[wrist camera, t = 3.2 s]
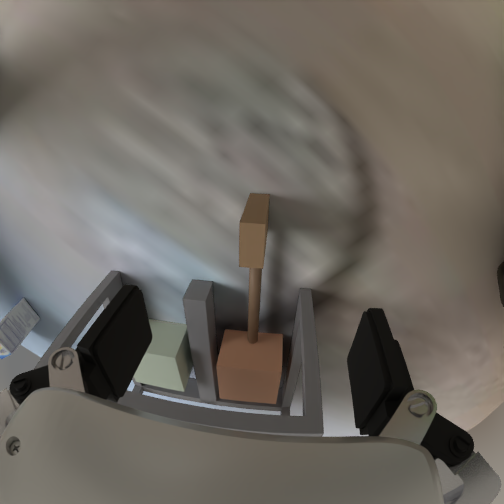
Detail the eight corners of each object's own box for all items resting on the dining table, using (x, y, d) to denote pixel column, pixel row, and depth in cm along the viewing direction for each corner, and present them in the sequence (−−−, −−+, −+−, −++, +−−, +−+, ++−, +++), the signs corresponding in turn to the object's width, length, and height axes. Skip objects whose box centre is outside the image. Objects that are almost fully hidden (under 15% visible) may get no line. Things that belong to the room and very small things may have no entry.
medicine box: (24, 296, 32) (-9, 331, 24) (41, 318, 33) (11, 355, 26) (11, 308, 34) (-16, 340, 26) (27, 328, 36) (1, 361, 28)
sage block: (138, 316, 30) (121, 347, 25) (188, 323, 29) (175, 358, 25) (149, 351, 32) (135, 381, 28) (194, 359, 32) (184, 391, 28)
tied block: (221, 191, 22) (202, 220, 17) (298, 196, 21) (304, 227, 16) (226, 364, 32) (218, 405, 26) (277, 369, 31) (275, 411, 26)
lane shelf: (111, 270, 27) (33, 370, 14) (310, 288, 25) (323, 433, 13) (144, 372, 35) (108, 457, 22) (289, 392, 33) (285, 492, 21)
